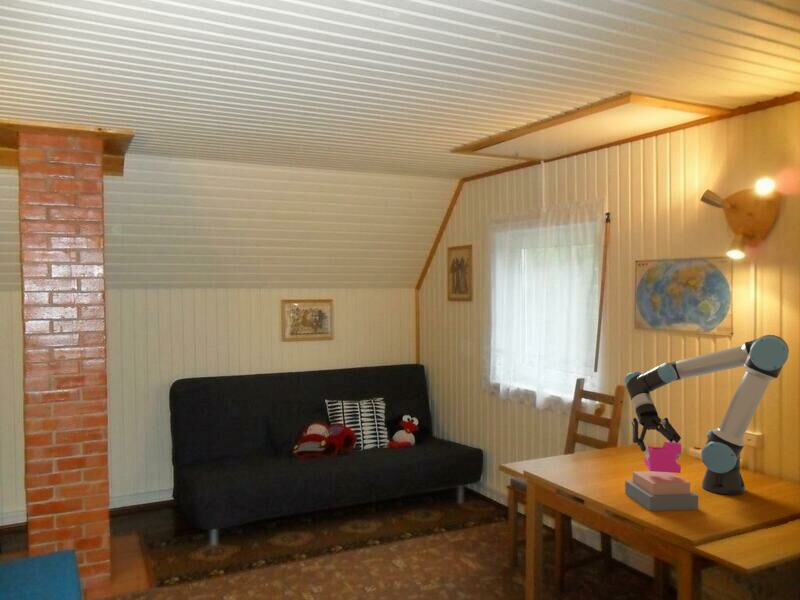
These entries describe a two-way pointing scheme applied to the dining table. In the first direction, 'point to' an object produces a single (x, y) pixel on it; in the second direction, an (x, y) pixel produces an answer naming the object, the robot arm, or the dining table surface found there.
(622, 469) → the dining table surface
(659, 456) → the bracket
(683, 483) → the two-tone base plate
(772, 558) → the dining table surface
